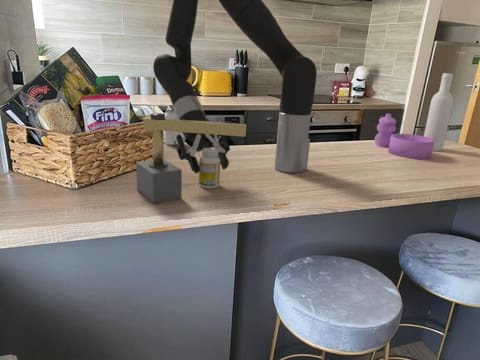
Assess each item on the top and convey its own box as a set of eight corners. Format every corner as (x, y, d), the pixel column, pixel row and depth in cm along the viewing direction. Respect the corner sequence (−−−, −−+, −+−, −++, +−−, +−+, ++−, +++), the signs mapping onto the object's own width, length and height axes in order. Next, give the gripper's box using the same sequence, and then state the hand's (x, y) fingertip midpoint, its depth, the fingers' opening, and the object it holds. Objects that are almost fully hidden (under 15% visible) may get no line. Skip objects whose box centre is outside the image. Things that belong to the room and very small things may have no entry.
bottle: (426, 145, 162) (442, 72, 152) (445, 150, 156) (463, 74, 147) (417, 148, 157) (433, 72, 147) (436, 152, 151) (454, 74, 142)
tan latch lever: (243, 170, 89) (246, 119, 85) (242, 174, 86) (245, 121, 82) (148, 162, 91) (147, 112, 87) (143, 166, 88) (142, 114, 84)
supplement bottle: (209, 190, 96) (210, 153, 93) (194, 185, 99) (194, 149, 96) (223, 185, 100) (225, 150, 97) (208, 180, 103) (209, 146, 100)
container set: (440, 158, 143) (448, 123, 139) (410, 160, 137) (418, 124, 132) (390, 143, 164) (395, 112, 160) (362, 144, 158) (367, 112, 154)
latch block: (163, 185, 97) (163, 158, 95) (181, 198, 90) (181, 169, 87) (137, 189, 93) (136, 161, 91) (153, 203, 86) (152, 172, 83)
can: (184, 142, 144) (184, 110, 140) (179, 146, 138) (179, 113, 134) (167, 141, 145) (167, 109, 141) (162, 144, 138) (162, 111, 135)
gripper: (171, 109, 95) (192, 165, 90) (219, 107, 103) (241, 159, 98) (162, 126, 101) (182, 180, 96) (208, 123, 109) (229, 173, 104)
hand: (212, 169), depth 97 cm, fingers open, 8 cm apart
